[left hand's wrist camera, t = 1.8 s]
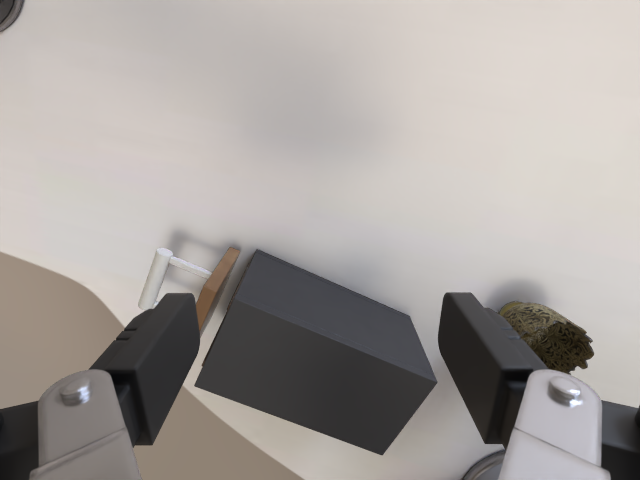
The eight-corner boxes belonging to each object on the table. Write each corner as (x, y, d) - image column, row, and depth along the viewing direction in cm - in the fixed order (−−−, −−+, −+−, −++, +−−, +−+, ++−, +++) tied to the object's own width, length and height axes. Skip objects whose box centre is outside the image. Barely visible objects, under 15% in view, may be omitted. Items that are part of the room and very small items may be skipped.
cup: (514, 272, 39) (559, 310, 32) (558, 306, 41) (611, 351, 33) (466, 318, 42) (498, 364, 34) (510, 349, 43) (549, 400, 36)
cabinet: (224, 319, 42) (193, 386, 32) (256, 248, 39) (233, 298, 29) (369, 377, 45) (382, 455, 35) (410, 316, 42) (437, 382, 32)
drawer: (154, 291, 40) (109, 340, 31) (178, 224, 37) (136, 258, 29) (344, 368, 43) (350, 430, 35) (380, 311, 40) (395, 365, 32)
